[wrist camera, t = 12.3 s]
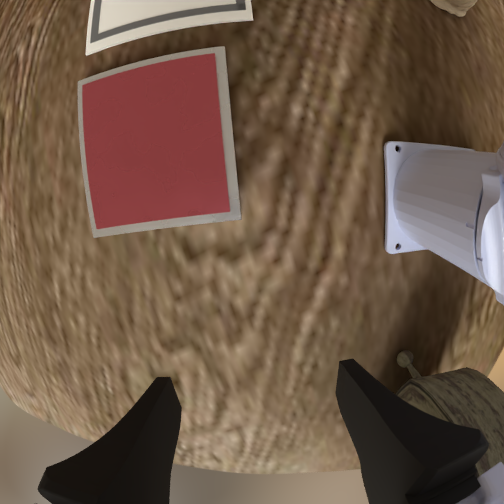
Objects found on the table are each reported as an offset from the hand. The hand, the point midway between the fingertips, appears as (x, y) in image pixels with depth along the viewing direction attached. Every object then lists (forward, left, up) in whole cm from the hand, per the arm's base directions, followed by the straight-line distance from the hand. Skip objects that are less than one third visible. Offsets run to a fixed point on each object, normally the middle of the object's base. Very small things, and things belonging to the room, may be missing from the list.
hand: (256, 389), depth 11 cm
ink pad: (+5, -11, -9) cm, 15 cm away
